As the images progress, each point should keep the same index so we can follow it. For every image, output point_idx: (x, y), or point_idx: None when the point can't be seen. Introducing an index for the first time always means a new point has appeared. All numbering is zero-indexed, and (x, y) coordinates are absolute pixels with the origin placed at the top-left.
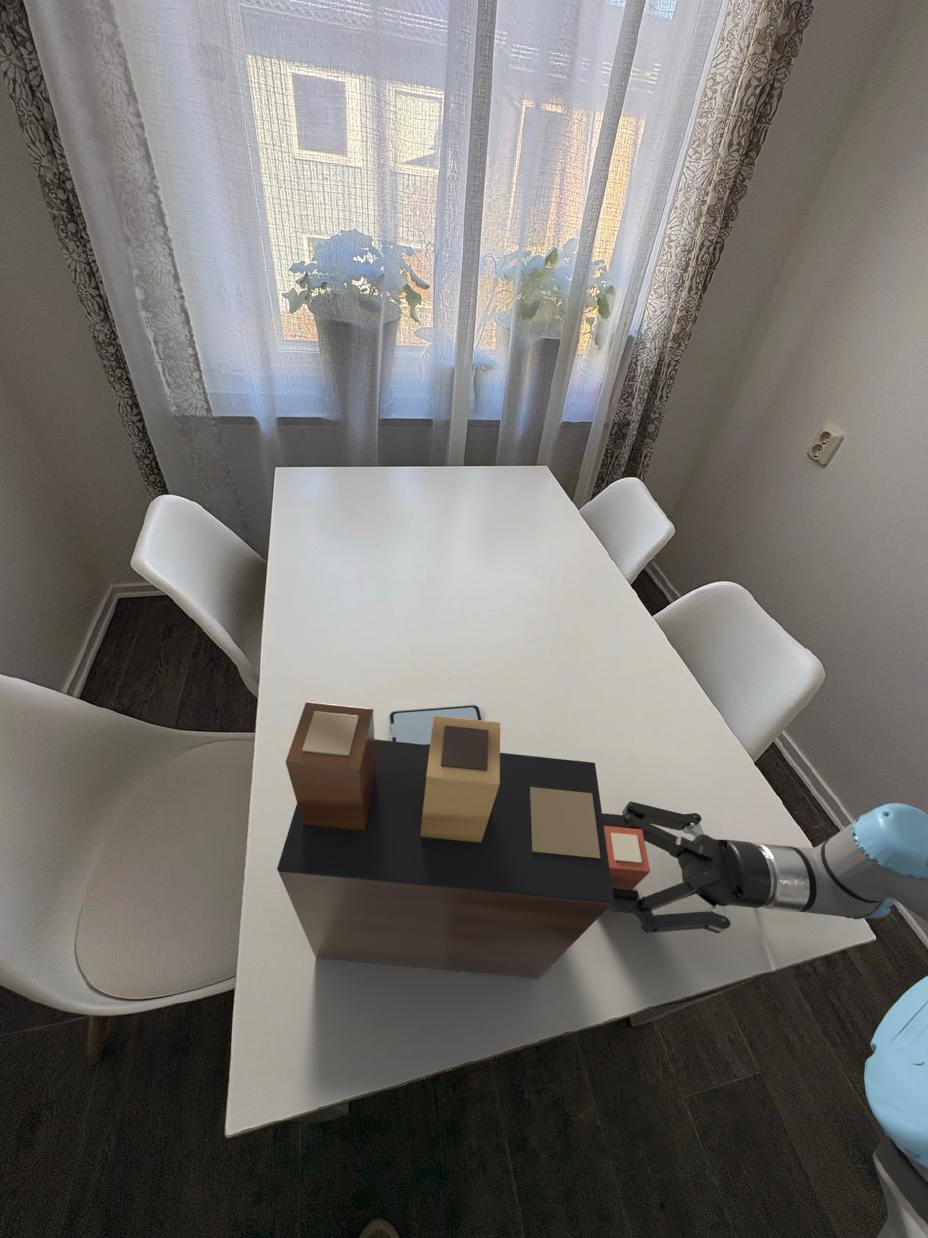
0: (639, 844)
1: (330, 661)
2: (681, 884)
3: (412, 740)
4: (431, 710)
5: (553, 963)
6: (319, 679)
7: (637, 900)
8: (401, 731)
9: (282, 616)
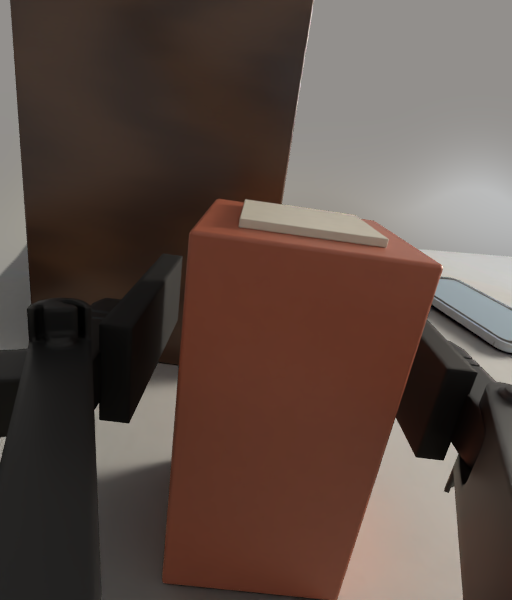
0: (342, 243)
1: (481, 269)
2: (86, 593)
3: None
4: (498, 303)
5: (24, 200)
6: (449, 263)
7: (93, 349)
8: None
9: (500, 257)
